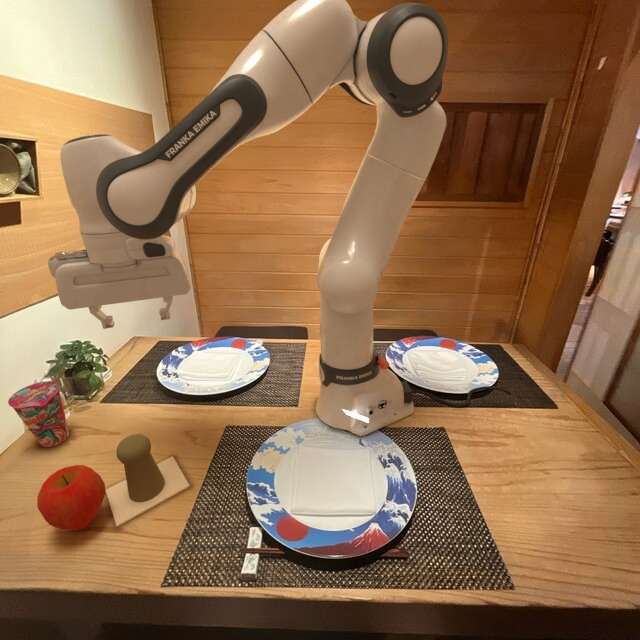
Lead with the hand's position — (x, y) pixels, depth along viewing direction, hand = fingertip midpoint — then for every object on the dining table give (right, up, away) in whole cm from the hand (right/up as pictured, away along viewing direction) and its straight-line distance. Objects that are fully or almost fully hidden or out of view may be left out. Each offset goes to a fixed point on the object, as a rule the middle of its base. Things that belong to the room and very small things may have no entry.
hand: (138, 322), depth 64 cm
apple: (-6, -33, -6) cm, 34 cm away
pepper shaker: (+2, -30, 0) cm, 30 cm away
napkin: (+2, -30, 0) cm, 30 cm away
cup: (-24, -25, +12) cm, 37 cm away
